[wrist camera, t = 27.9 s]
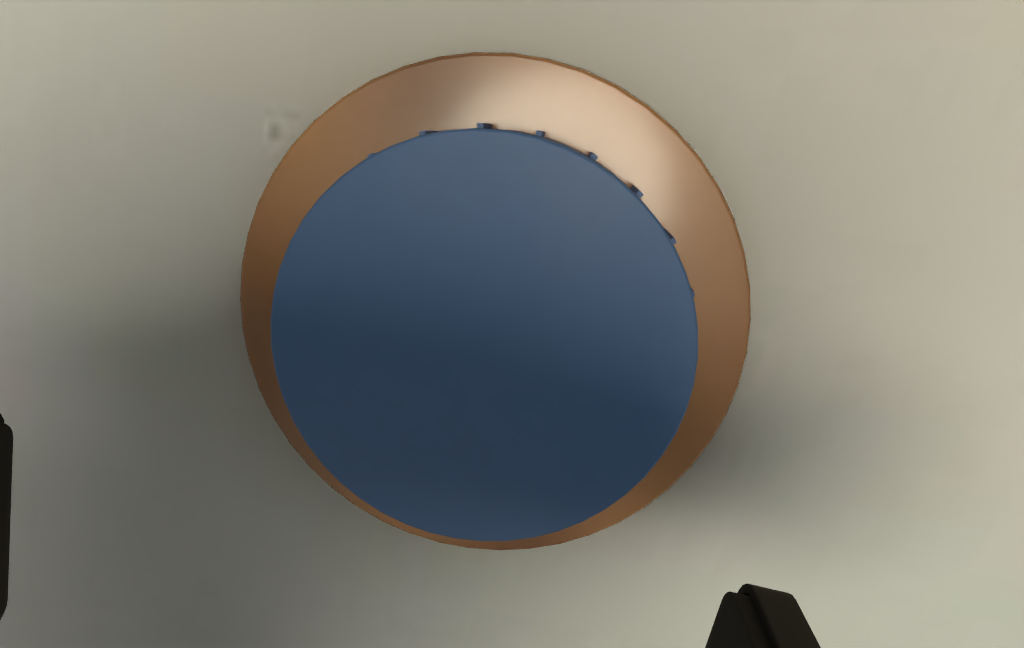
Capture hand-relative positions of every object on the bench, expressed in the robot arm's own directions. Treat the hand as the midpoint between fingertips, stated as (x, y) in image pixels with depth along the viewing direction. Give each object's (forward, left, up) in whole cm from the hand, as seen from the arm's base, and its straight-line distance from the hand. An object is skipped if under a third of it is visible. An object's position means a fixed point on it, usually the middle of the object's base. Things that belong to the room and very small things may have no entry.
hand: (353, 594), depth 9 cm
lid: (+2, +2, -4) cm, 5 cm away
